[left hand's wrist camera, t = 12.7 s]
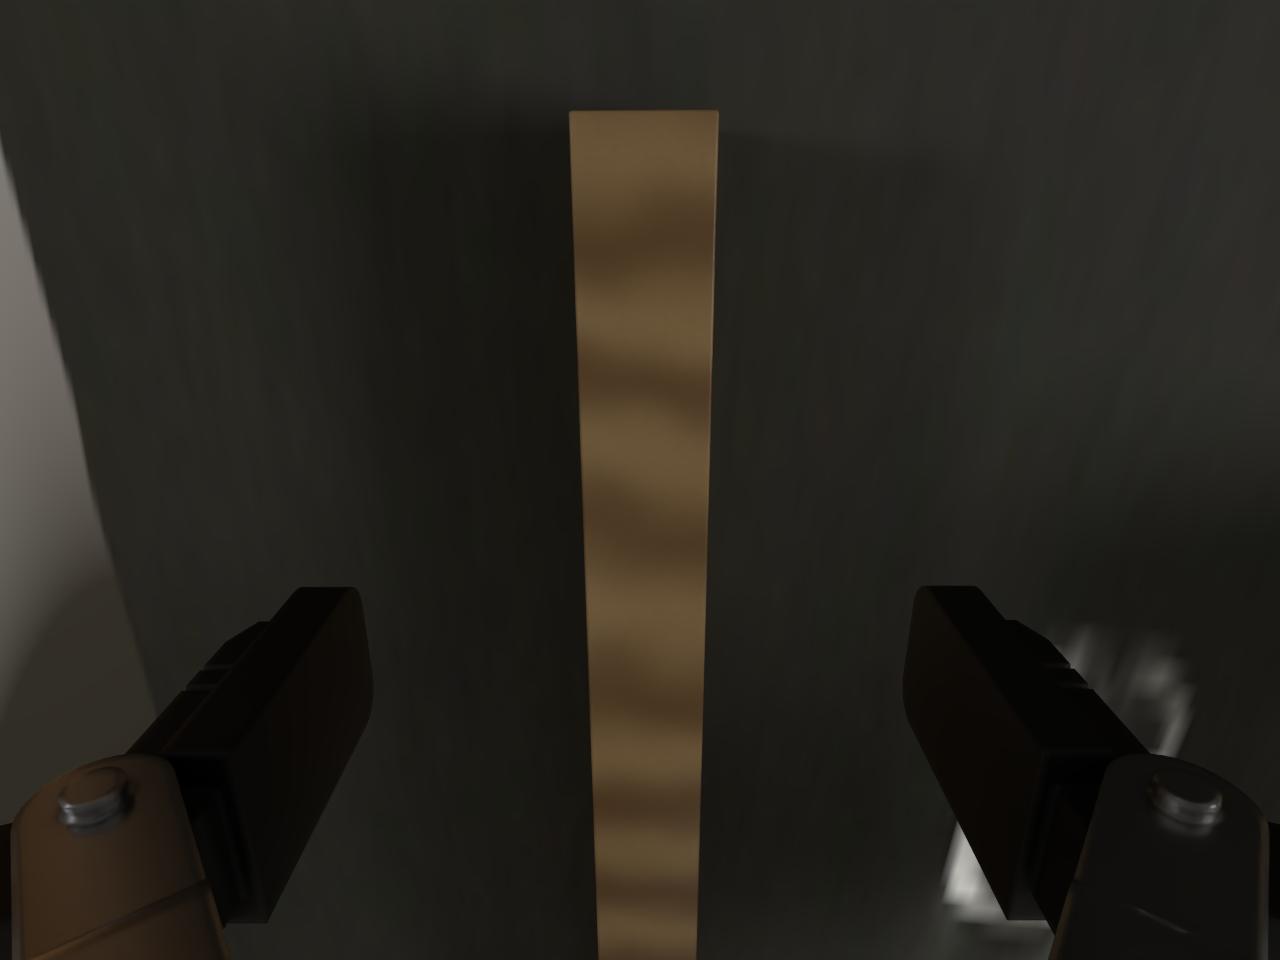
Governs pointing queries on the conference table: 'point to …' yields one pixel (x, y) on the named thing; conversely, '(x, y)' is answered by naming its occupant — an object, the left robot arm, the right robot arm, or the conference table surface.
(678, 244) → the post
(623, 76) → the conference table surface
